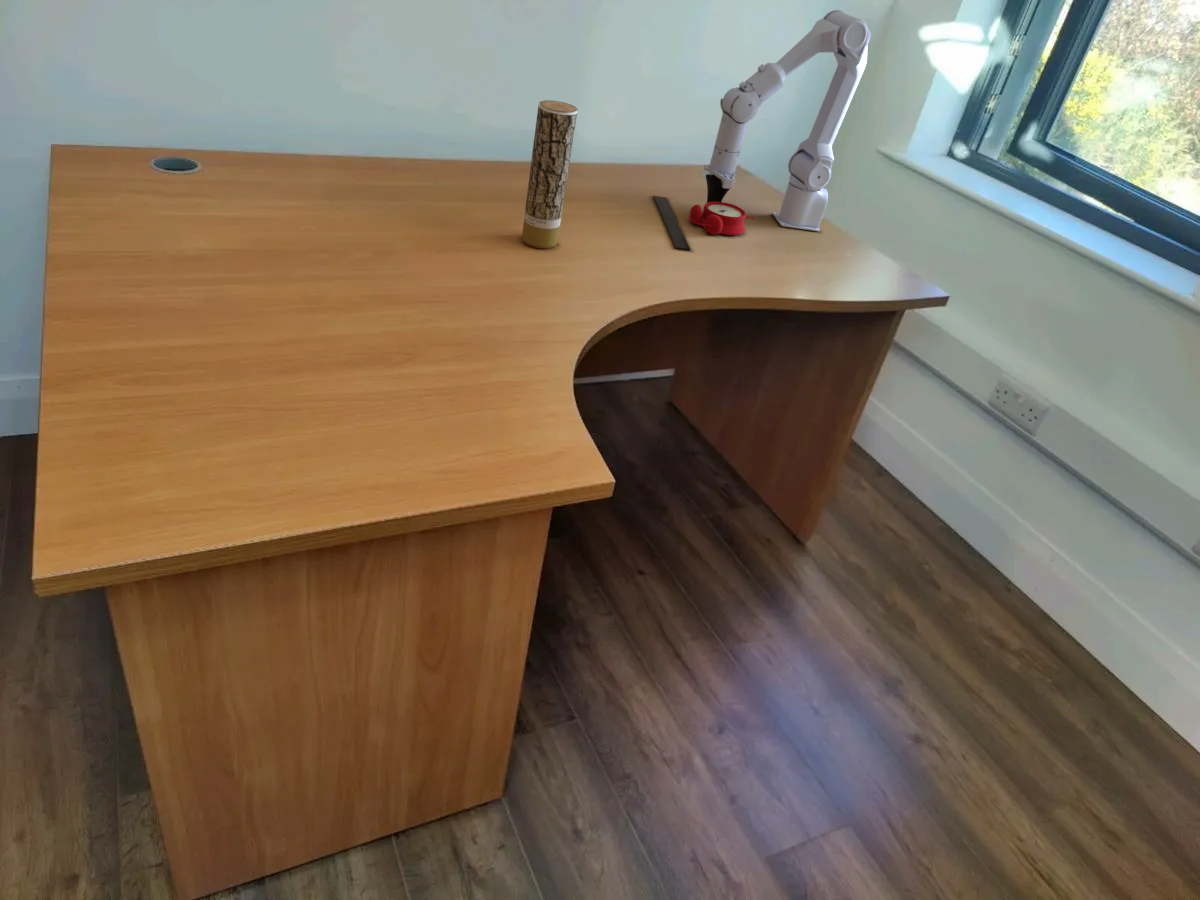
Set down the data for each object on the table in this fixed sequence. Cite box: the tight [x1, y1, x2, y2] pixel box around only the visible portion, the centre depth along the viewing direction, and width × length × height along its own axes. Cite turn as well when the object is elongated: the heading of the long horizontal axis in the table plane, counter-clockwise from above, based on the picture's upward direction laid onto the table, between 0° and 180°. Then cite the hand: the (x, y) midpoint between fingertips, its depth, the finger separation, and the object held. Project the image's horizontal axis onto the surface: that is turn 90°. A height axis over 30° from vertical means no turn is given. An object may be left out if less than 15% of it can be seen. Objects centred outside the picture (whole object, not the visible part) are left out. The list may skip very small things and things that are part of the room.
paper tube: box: [521, 99, 579, 250], centre depth 151 cm, size 7×7×25 cm
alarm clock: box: [686, 201, 755, 236], centre depth 181 cm, size 10×6×15 cm
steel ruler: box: [653, 195, 691, 252], centre depth 180 cm, size 3×30×1 cm, turn 6°
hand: (711, 209), depth 187 cm, fingers closed
